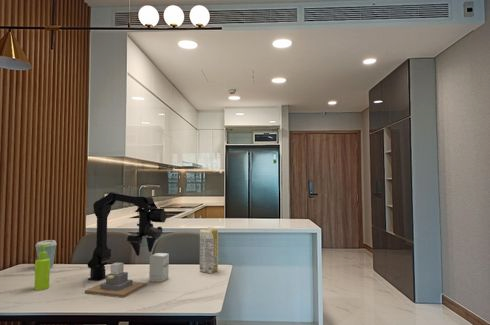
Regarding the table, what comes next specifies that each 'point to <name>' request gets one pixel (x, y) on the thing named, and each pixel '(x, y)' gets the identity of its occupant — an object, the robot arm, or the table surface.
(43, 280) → the soap dispenser
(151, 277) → the supplement box
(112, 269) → the block
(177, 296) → the table surface
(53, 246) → the disposable coffee cup
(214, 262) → the juice carton
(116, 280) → the tan base plate
